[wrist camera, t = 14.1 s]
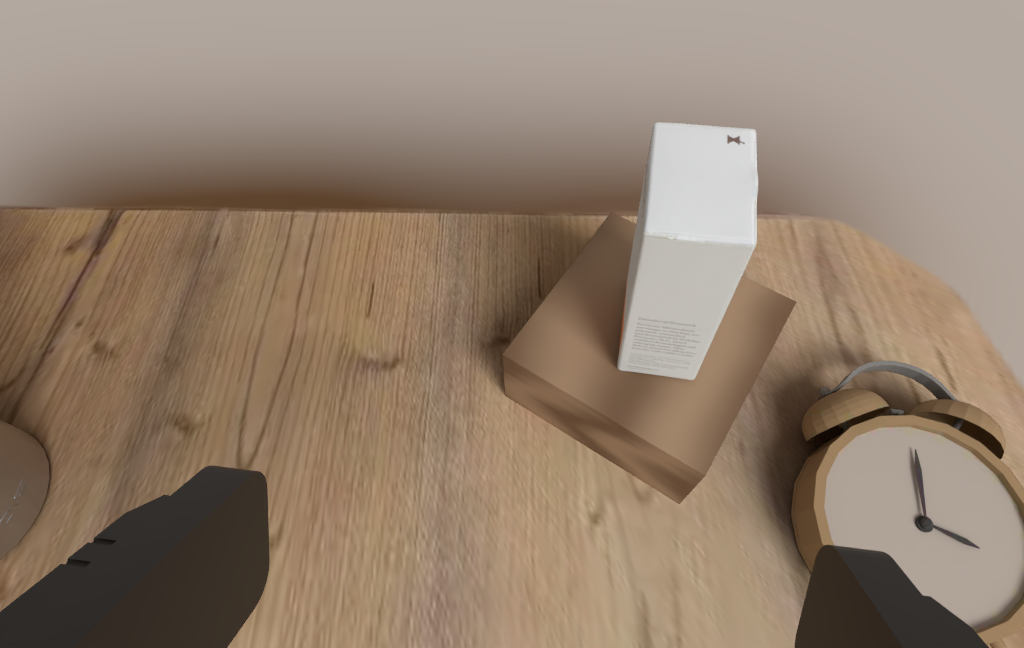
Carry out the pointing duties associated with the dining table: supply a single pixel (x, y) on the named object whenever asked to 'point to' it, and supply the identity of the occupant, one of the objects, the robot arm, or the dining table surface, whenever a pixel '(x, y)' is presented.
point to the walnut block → (631, 395)
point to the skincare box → (688, 245)
